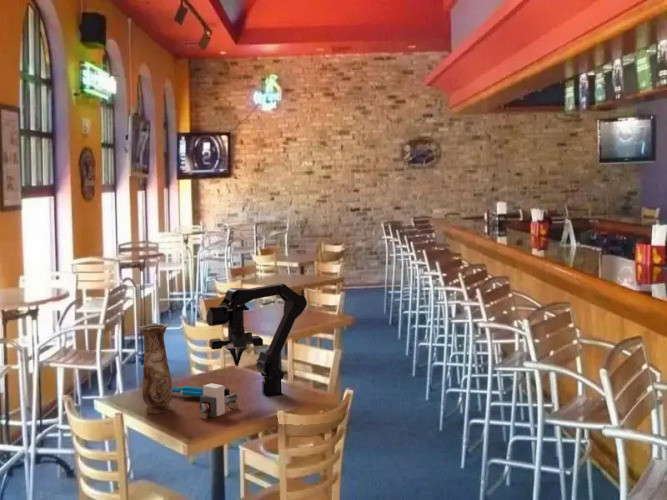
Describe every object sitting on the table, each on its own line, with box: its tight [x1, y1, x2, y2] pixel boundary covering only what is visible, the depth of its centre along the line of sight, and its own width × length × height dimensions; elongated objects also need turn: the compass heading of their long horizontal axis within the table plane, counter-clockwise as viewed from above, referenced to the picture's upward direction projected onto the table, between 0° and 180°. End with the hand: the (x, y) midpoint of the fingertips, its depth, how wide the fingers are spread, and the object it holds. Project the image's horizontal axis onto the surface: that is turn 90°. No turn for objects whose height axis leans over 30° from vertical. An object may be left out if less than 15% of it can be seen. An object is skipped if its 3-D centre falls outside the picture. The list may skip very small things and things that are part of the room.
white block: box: [202, 383, 226, 417], centre depth 275 cm, size 4×6×10 cm, turn 55°
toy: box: [172, 385, 231, 398], centre depth 297 cm, size 8×6×30 cm
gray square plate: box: [199, 396, 218, 418], centre depth 273 cm, size 2×6×6 cm, turn 55°
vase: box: [138, 322, 173, 414], centre depth 280 cm, size 10×11×30 cm
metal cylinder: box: [198, 393, 239, 420], centre depth 277 cm, size 16×3×5 cm, turn 145°
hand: (236, 365), depth 293 cm, fingers closed
